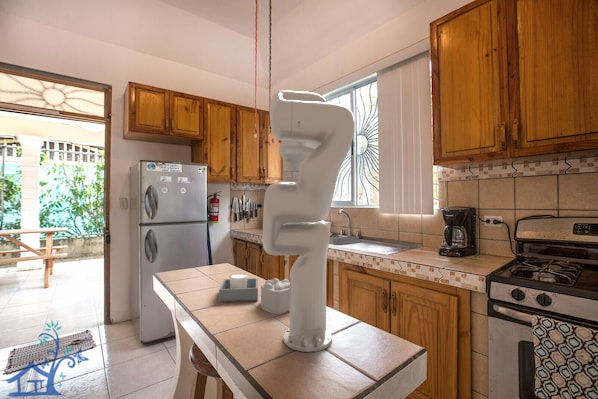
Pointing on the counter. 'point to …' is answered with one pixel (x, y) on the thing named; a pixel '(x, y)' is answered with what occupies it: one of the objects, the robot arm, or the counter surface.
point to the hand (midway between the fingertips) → (292, 223)
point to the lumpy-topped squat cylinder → (275, 296)
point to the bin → (239, 292)
